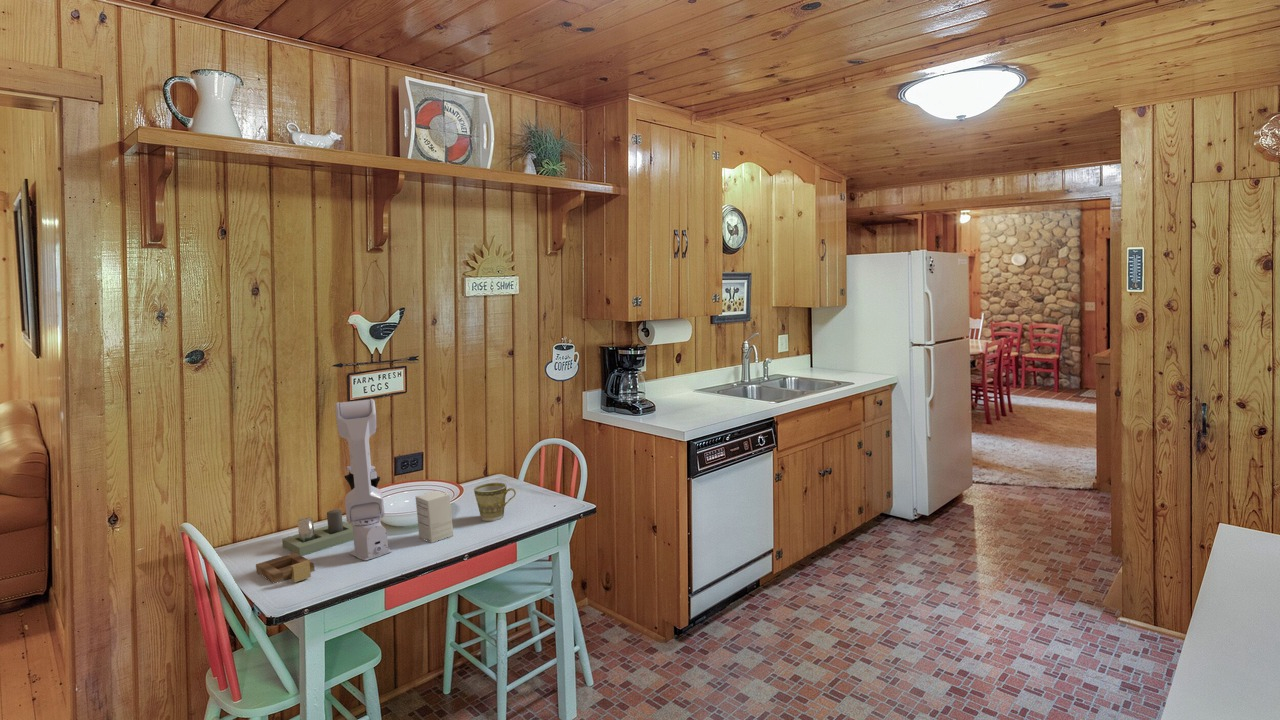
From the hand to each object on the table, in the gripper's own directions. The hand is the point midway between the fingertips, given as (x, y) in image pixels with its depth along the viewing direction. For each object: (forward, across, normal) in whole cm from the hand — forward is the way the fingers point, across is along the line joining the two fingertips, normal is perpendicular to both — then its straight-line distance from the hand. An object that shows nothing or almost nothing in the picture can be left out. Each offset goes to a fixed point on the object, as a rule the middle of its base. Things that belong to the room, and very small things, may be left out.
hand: (364, 499), depth 211 cm
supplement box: (+11, -22, -10) cm, 26 cm away
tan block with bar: (+10, -17, +28) cm, 34 cm away
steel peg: (+10, +4, +16) cm, 20 cm away
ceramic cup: (+11, -23, -31) cm, 40 cm away
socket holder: (+10, -10, +28) cm, 32 cm away
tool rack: (+10, +4, +12) cm, 16 cm away
